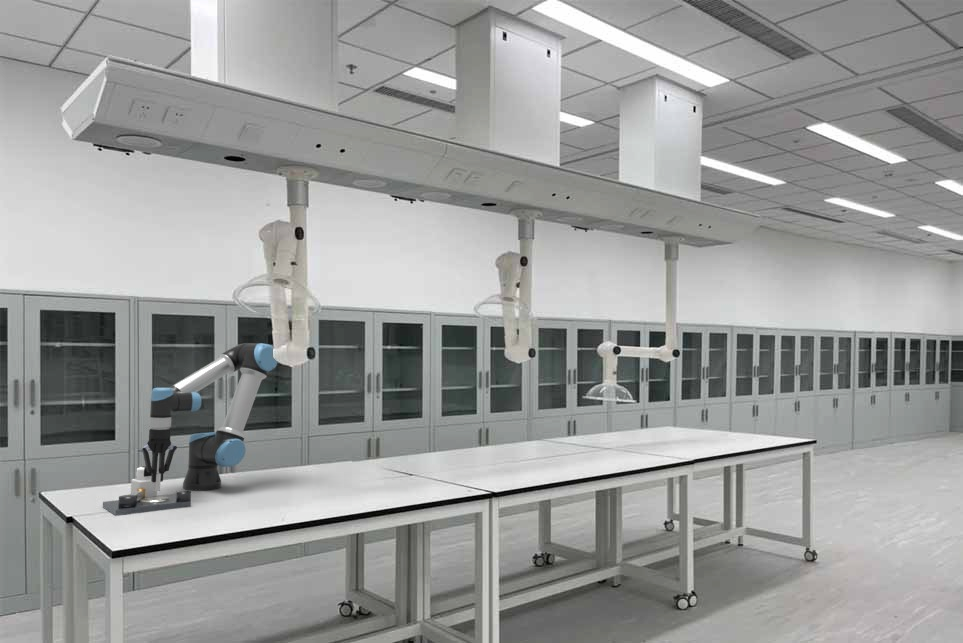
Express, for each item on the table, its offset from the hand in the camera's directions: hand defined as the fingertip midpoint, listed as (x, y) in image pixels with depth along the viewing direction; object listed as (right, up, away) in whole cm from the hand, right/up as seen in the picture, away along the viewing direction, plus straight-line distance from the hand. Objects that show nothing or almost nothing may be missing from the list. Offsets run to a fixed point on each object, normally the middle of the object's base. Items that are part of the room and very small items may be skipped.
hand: (156, 490), depth 273 cm
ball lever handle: (-4, -2, -9) cm, 10 cm away
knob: (+11, -3, -3) cm, 12 cm away
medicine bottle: (-9, -5, +8) cm, 13 cm away
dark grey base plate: (0, -4, -7) cm, 8 cm away
